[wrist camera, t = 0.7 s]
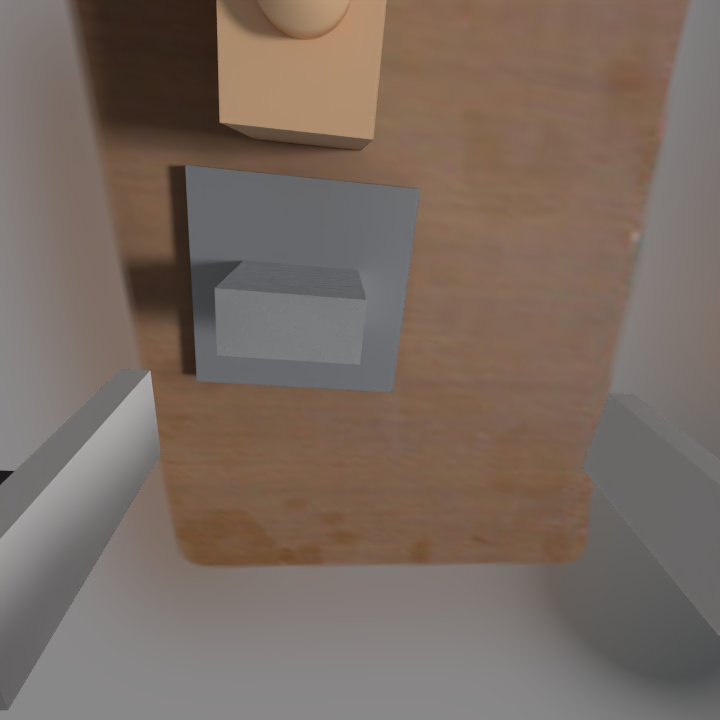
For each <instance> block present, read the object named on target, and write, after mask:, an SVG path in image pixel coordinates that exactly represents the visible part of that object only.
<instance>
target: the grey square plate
mask: <svg viewBox="0 0 720 720" xmlns="http://www.w3.org/2000/svg"><path fill="white" fill-rule="evenodd" d="M185 173H186V192H187V210H188V228H189V246H190V265H191V283H192V301H193V319H194V338H195V356H196V374H197V381H204V382H221V383H238V384H255V385H272V386H289V387H306V388H324V389H341V390H358V391H375V392H392V391H393V384H394V377H395V369H396V362H397V355H398V348H399V341H400V333H401V326H402V319H403V312H404V304H405V297H406V290H407V283H408V275H409V268H410V261H411V254H412V246H413V239H414V232H415V225H416V217H417V210H418V203H419V196H420V189H416V188H406V187H396V186H387V185H377V184H367V183H357V182H347V181H338V180H328V179H318V178H308V177H298V176H288V175H279V174H269V173H259V172H249V171H239V170H230V169H220V168H210V167H200V166H190V165H185Z"/></svg>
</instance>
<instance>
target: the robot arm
mask: <svg viewBox="0 0 720 720" xmlns="http://www.w3.org/2000/svg"><path fill="white" fill-rule="evenodd" d="M160 455H161V451H160V444H159V436H158V428H157V420H156V412H155V404H154V396H153V388H152V381H151V373H150V370H130V369H120V370H119V371H118V372H117V373H116V374H115V375H114V376H113V377H112V378H111V379H110V380H109V381H108V382H107V383H106V384H105V385H104V386H103V387H102V388H101V389H100V390H99V391H97V392H96V393H95V394H94V395H93V396H92V397H91V398H90V399H89V400H88V401H87V402H86V403H85V404H84V405H83V406H82V407H81V408H80V409H79V410H78V411H77V412H76V413H75V414H74V415H73V416H71V418H69V419H68V420H67V421H66V422H65V423H64V424H63V425H62V426H61V427H60V428H59V429H58V430H57V431H56V432H55V433H54V434H53V435H52V436H51V437H50V438H49V439H48V440H47V441H46V442H44V443H43V444H42V445H41V446H40V448H38V449H37V450H36V451H35V452H34V453H33V454H32V455H31V456H30V457H29V458H28V459H27V460H26V461H25V462H24V463H23V464H22V465H21V466H20V467H19V468H17V469H16V470H15V471H0V710H8V709H9V707H10V706H11V704H12V703H13V701H14V699H15V698H16V696H17V694H18V693H19V691H20V689H21V688H22V686H23V684H24V683H25V681H26V679H27V678H28V676H29V674H30V673H31V671H32V669H33V668H34V666H35V664H36V663H37V661H38V659H39V658H40V656H41V654H42V652H43V651H44V649H45V647H46V646H47V644H48V642H49V641H50V639H51V637H52V636H53V634H54V632H55V631H56V629H57V627H58V626H59V624H60V622H61V621H62V619H63V617H64V616H65V614H66V612H67V611H68V609H69V607H70V605H71V604H72V602H73V600H74V599H75V597H76V595H77V594H78V592H79V590H80V589H81V587H82V585H83V584H84V582H85V580H86V579H87V577H88V575H89V573H90V572H91V570H92V569H93V567H94V565H95V564H96V562H97V560H98V558H99V557H100V555H101V554H102V552H103V550H104V549H105V547H106V545H107V544H108V542H109V540H110V538H111V537H112V535H113V533H114V532H115V530H116V528H117V527H118V525H119V523H120V522H121V520H122V518H123V516H124V515H125V513H126V512H127V510H128V508H129V507H130V505H131V503H132V502H133V500H134V498H135V497H136V495H137V493H138V491H139V490H140V488H141V486H142V485H143V483H144V481H145V480H146V478H147V476H148V475H149V473H150V471H151V470H152V468H153V466H154V465H155V463H156V461H157V460H158V458H159V456H160ZM582 469H583V470H584V471H585V472H586V473H587V475H588V476H589V477H590V478H591V480H592V481H593V482H594V483H595V484H596V486H597V487H598V488H599V489H600V491H601V492H602V493H603V494H604V496H605V497H606V498H607V499H608V500H609V502H610V503H611V504H612V505H613V507H614V508H615V509H616V510H617V511H618V513H619V514H620V515H621V516H622V518H623V519H624V520H625V521H626V523H627V524H628V525H629V526H630V527H631V529H632V530H633V531H634V532H635V533H636V535H637V536H638V537H639V538H640V540H641V541H642V542H643V543H644V545H645V546H646V547H647V548H648V549H649V550H650V552H651V553H652V554H653V555H654V557H655V558H656V559H657V560H658V562H659V563H660V564H661V565H662V567H663V568H664V569H665V570H666V572H667V573H668V574H669V575H670V576H671V578H672V579H673V580H674V581H675V583H676V584H677V585H678V586H679V587H680V589H681V590H682V591H683V592H684V594H685V595H686V596H687V597H688V599H689V600H690V601H691V602H692V603H693V605H694V606H695V607H696V608H697V609H698V611H699V612H700V613H701V614H702V616H703V617H704V618H705V619H706V621H707V622H708V623H709V624H710V625H711V627H712V628H713V629H714V630H715V632H716V633H717V634H718V635H719V636H720V460H719V459H717V458H716V457H715V456H714V455H712V454H711V453H710V452H708V451H707V450H706V449H704V448H703V447H702V446H701V445H699V444H698V443H697V442H695V441H694V440H693V439H691V438H690V437H689V436H688V435H686V434H685V433H684V432H682V431H681V430H680V429H678V428H677V427H676V426H675V425H673V424H672V423H671V422H669V421H668V420H667V419H665V418H664V417H663V416H661V415H660V414H659V413H658V412H656V411H655V410H654V409H652V408H651V407H650V406H648V405H647V404H646V403H645V402H643V401H642V400H640V399H639V398H638V397H637V396H635V395H634V394H623V393H609V395H608V397H607V400H606V403H605V406H604V409H603V411H602V414H601V417H600V420H599V423H598V425H597V428H596V431H595V434H594V436H593V439H592V442H591V445H590V448H589V450H588V453H587V456H586V459H585V462H584V464H583V467H582Z"/></svg>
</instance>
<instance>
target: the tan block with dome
mask: <svg viewBox="0 0 720 720" xmlns="http://www.w3.org/2000/svg"><path fill="white" fill-rule="evenodd" d="M385 11H386V0H217V38H218V77H219V116H220V123H222V124H224V125H226V126H228V127H230V128H232V129H234V130H237V131H239V132H241V133H243V134H245V135H247V136H249V137H251V138H253V139H259V140H268V141H278V142H287V143H296V144H305V145H314V146H324V147H333V148H342V149H351V150H360V151H361V150H362V149H363V148H364V147H365V146H367V145H368V144H369V143H370V142H371V141H372V140H373V136H374V126H375V115H376V105H377V94H378V84H379V73H380V63H381V52H382V42H383V32H384V21H385Z"/></svg>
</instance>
